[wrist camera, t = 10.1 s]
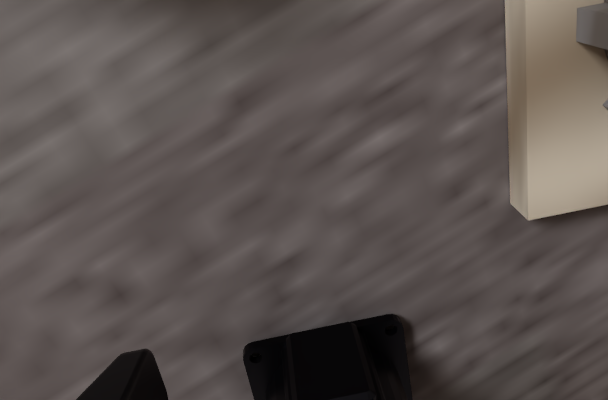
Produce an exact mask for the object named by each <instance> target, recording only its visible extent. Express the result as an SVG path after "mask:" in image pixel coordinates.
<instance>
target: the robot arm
mask: <svg viewBox="0 0 608 400" xmlns="http://www.w3.org/2000/svg"><path fill="white" fill-rule="evenodd" d="M390 325H394V327H393V328H392V329H385V328H386V327H387V326H390ZM253 353H259V354H261V355H260V356H257V357H253V356H251V354H253ZM243 361H244V365H245V368H246V372H247V375H248V379H249V382H250V386H251V389H252V393H253V397H254V400H412V393H411V385H410V377H409V369H408V362H407V354H406V346H405V338H404V330H403V326H402V324H401V321H400V319H399V318H398V317H397V316H396V315H393V314H387V315H382V316H377V317H372V318H367V319H362V320H357V321H352V322H346V323H341V324H336V325H331V326H326V327H321V328H317V329H312V330H307V331H302V332H297V333H292V334H289V335H284V336H279V337H274V338H269V339H265V340H260V341H255V342H251V343H249V344H247V345H246V346H245V348H244V350H243ZM76 400H168V395H167V391H166V388H165V385H164V383H163V380H162V377H161V374H160V372H159V369H158V366H157V363H156V361H155V358H154V355H153V354H152V352H151V351H150V350H148V349H141V350H136V351H131V352H126V353H123V354H121V355H119V356H118V357H117V358H116V359H115V360H114V361H113V362H112V363H111V364H110V365H109V366H108V367H107V368H106V369H105V370H104V372H103V373H102V374H101V375H100V376H99V377H98V378H97V379H96V380H95V381H94V382H93V383H92V384H91V385H90V386H89V387H88V388H87V389H86V390H85V391H84V392H83V393H82V394H81V395H80V396H79V397H78V398H77V399H76Z"/></svg>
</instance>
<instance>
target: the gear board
mask: <svg viewBox="0 0 608 400" xmlns="http://www.w3.org/2000/svg"><path fill="white" fill-rule="evenodd" d="M505 28H506V65H507V102H508V139H509V176H510V204H511V205H512V206H513V207H515V208H516V209H517V210H518V211H519V212H520V213H521V214H522V215H523V216H524V217H525V218H526V219H527V220H528V221H529V220H534V219H538V218H543V217H548V216H553V215H558V214H563V213H568V212H573V211H578V210H583V209H588V208H593V207H598V206H603V205H607V204H608V0H505Z"/></svg>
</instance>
